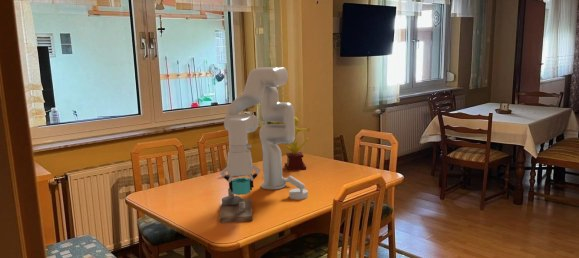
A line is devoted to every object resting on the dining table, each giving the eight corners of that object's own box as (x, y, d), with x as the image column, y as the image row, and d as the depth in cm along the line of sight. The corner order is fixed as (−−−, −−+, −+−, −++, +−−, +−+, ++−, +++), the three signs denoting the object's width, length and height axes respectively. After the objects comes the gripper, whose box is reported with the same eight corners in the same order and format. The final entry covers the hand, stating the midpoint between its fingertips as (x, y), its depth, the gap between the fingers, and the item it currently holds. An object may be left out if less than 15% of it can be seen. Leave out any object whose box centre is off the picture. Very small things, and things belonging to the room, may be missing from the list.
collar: (250, 188, 188) (249, 176, 187) (250, 194, 181) (249, 182, 180) (233, 189, 188) (232, 178, 187) (232, 195, 181) (231, 183, 180)
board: (251, 202, 203) (250, 184, 202) (252, 220, 181) (251, 200, 179) (222, 204, 202) (221, 185, 201) (220, 222, 180) (218, 202, 178)
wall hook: (292, 173, 214) (310, 175, 209) (293, 192, 215) (311, 195, 210) (282, 177, 207) (301, 180, 201) (283, 197, 208) (301, 200, 203)
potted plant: (276, 169, 259) (273, 117, 254) (292, 163, 271) (290, 114, 266) (295, 172, 250) (293, 119, 245) (312, 166, 262) (310, 115, 257)
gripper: (260, 144, 185) (262, 185, 189) (217, 147, 184) (220, 188, 187) (260, 148, 178) (263, 191, 181) (216, 151, 176) (219, 194, 180)
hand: (241, 189), depth 184 cm, fingers closed on collar, 7 cm apart
